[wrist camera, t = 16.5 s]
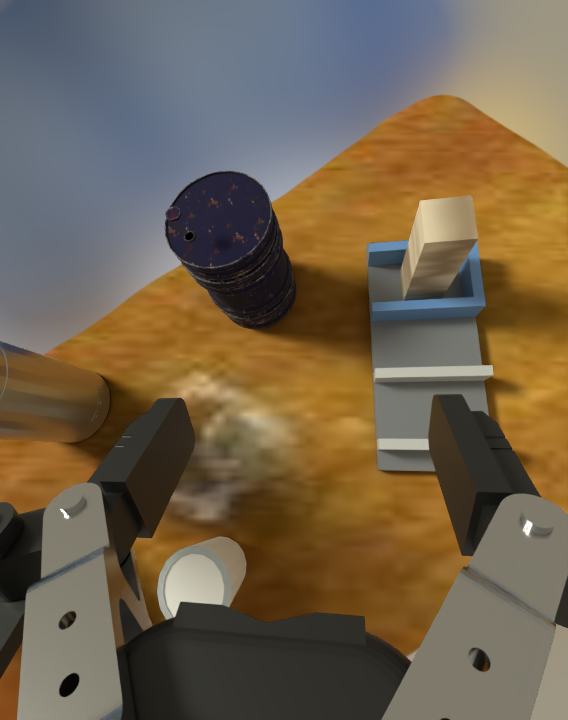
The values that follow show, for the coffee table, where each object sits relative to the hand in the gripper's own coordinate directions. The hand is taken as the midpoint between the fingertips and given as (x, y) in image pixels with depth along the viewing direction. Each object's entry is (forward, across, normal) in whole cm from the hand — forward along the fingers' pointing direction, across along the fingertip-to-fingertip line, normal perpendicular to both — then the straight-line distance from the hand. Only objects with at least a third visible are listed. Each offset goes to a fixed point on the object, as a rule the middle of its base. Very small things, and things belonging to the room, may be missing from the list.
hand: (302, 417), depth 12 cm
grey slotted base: (+27, -10, +13) cm, 32 cm away
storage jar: (+33, +9, +7) cm, 35 cm away
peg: (+31, -10, +7) cm, 34 cm away
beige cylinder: (+11, +12, +29) cm, 33 cm away
